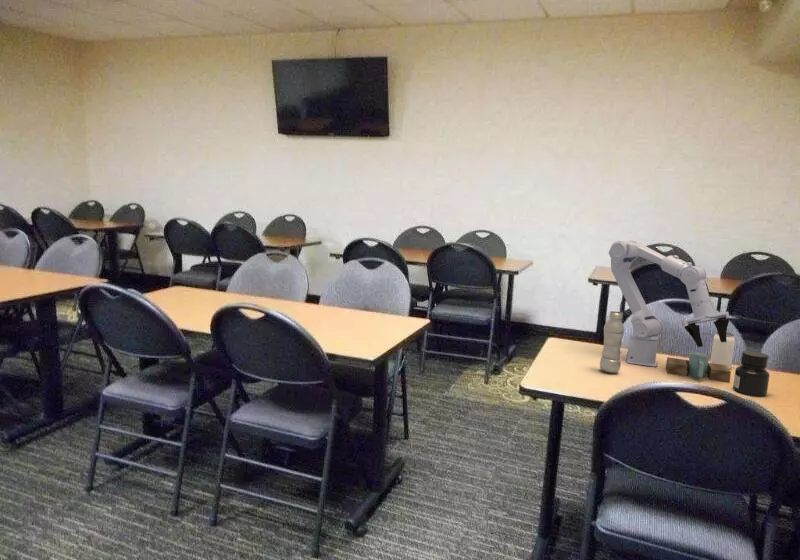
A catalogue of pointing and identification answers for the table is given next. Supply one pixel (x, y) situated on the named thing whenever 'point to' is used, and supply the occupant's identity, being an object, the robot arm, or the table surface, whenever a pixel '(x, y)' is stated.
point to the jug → (698, 364)
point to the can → (723, 350)
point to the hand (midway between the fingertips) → (712, 344)
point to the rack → (713, 370)
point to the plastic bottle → (612, 343)
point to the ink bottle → (752, 374)
